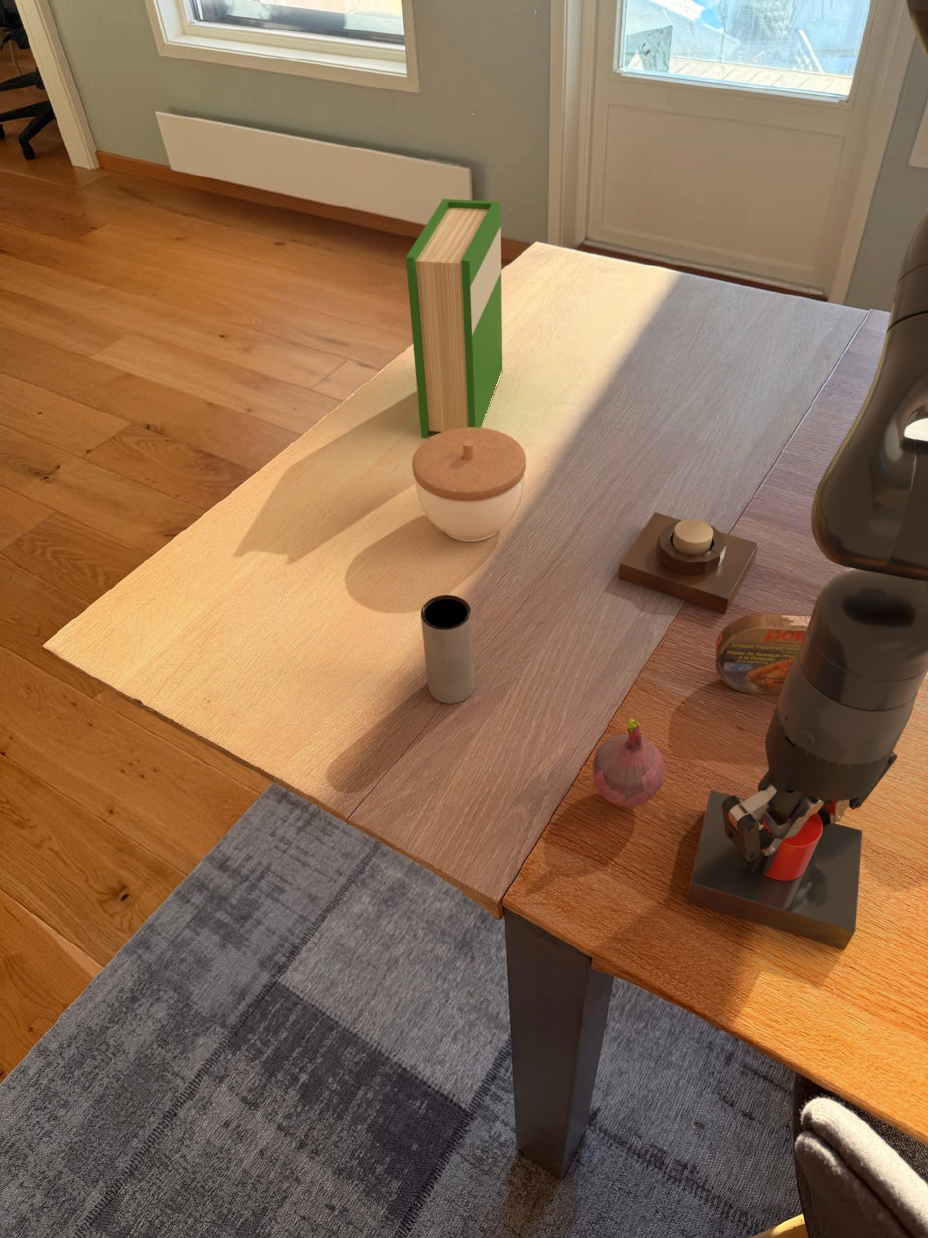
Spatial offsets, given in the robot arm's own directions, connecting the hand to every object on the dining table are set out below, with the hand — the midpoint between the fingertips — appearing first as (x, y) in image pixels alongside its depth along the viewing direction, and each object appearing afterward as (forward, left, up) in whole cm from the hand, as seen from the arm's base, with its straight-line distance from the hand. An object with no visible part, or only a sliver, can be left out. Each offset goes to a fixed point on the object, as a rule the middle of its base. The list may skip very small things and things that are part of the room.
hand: (781, 851), depth 70 cm
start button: (+19, -32, 0) cm, 37 cm away
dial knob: (0, 0, -1) cm, 1 cm away
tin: (+5, -21, -4) cm, 22 cm away
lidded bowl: (+44, -28, -4) cm, 52 cm away
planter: (+33, -5, -4) cm, 34 cm away
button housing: (+19, -32, -4) cm, 38 cm away
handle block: (0, 0, -4) cm, 4 cm away
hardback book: (+58, -50, -4) cm, 77 cm away
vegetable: (+13, -1, -4) cm, 14 cm away
